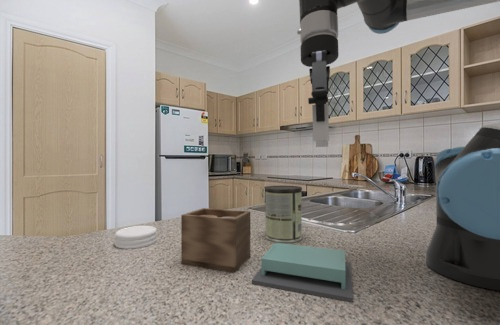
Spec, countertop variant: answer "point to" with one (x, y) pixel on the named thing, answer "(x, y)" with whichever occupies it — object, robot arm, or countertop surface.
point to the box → (215, 239)
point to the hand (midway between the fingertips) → (321, 144)
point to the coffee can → (283, 213)
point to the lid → (305, 262)
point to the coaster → (135, 237)
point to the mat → (308, 284)
